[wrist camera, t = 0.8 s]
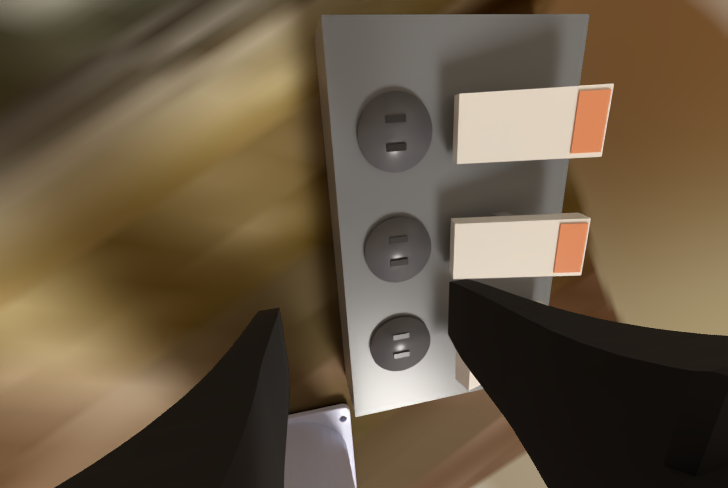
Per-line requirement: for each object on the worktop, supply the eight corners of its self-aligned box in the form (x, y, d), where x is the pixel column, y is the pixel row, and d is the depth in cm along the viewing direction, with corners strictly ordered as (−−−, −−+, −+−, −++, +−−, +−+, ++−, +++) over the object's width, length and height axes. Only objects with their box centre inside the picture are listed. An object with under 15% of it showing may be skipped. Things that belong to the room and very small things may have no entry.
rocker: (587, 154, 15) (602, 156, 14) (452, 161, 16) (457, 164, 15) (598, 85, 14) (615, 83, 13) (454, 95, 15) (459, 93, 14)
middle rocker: (570, 266, 17) (581, 275, 16) (449, 270, 18) (453, 279, 17) (578, 212, 16) (591, 218, 15) (450, 218, 17) (455, 224, 16)
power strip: (505, 344, 25) (546, 384, 21) (345, 376, 23) (357, 426, 19) (536, 34, 18) (603, 8, 15) (314, 37, 16) (323, 8, 12)
